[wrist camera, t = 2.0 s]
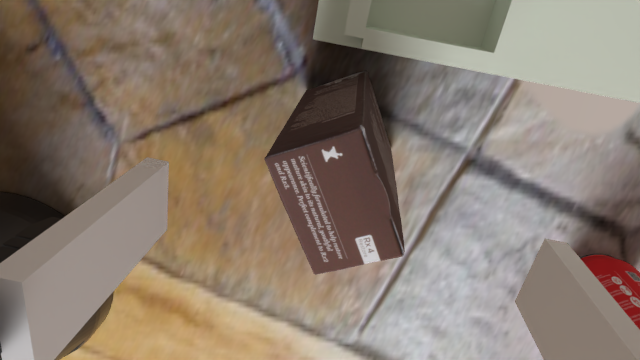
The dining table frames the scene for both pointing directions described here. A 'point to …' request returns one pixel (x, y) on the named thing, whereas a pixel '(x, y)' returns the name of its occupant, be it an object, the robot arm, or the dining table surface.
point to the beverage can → (618, 282)
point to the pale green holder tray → (501, 38)
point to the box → (339, 177)
